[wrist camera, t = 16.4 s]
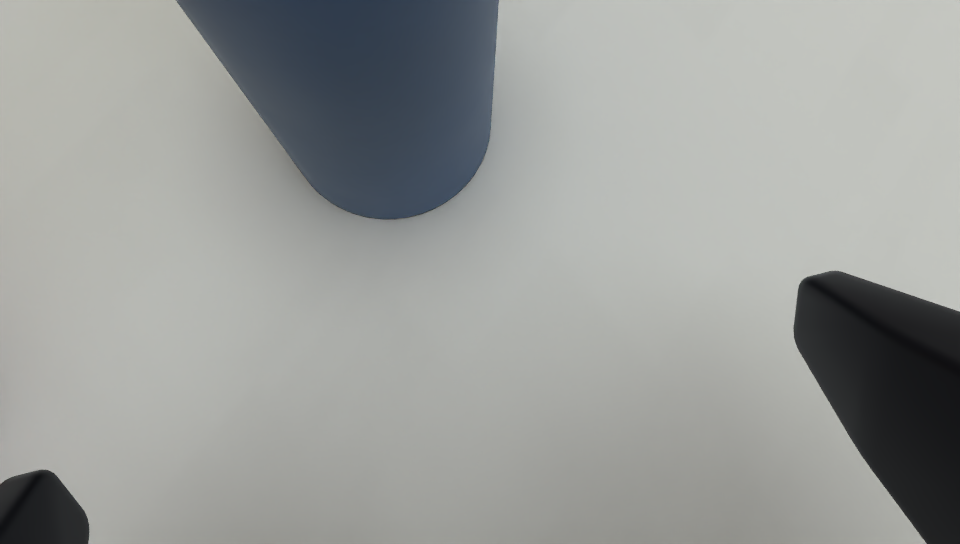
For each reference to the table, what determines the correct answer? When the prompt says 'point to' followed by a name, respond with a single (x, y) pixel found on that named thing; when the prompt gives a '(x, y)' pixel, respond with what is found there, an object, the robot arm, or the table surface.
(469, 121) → the blue bottle
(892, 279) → the table surface
